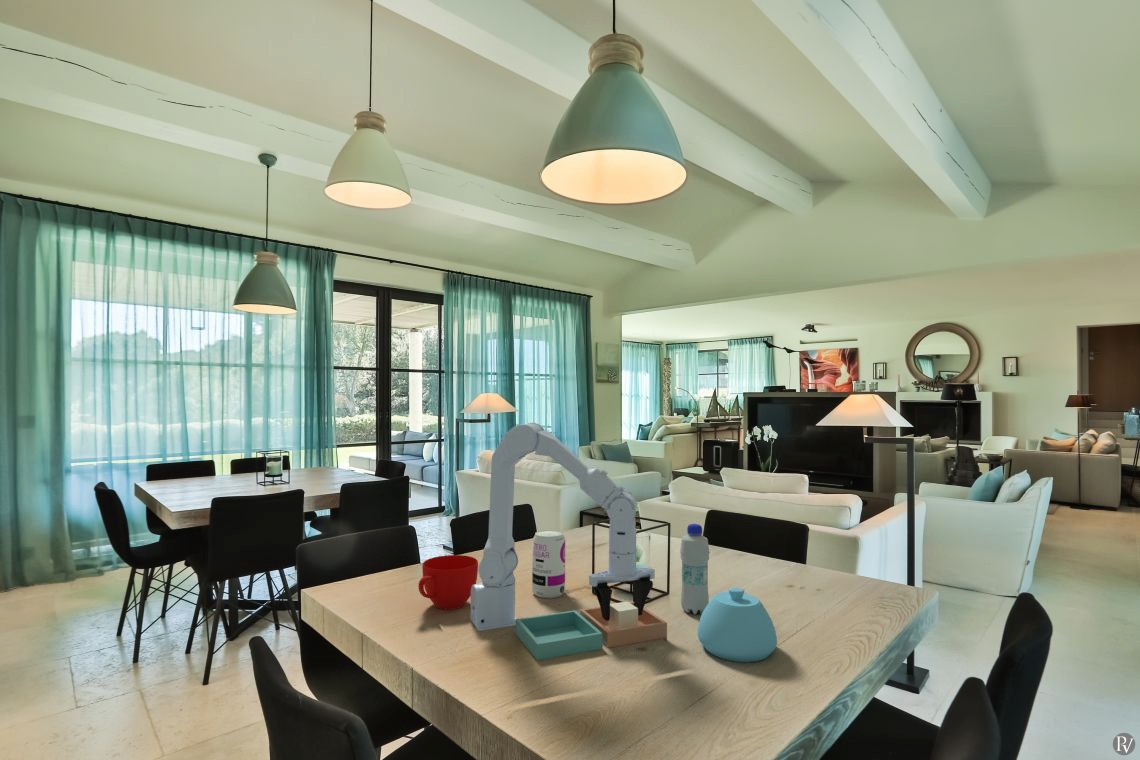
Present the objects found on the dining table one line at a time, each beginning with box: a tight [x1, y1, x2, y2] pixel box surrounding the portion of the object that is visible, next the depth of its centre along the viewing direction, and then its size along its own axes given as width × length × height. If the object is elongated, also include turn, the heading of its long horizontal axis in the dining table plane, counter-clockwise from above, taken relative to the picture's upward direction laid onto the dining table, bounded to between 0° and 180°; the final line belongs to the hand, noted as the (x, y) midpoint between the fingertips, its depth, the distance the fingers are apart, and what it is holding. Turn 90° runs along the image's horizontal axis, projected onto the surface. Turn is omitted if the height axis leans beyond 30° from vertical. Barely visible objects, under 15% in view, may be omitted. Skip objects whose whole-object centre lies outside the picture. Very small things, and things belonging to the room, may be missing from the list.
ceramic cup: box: [418, 554, 479, 610], centre depth 138 cm, size 13×17×10 cm
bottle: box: [679, 523, 710, 615], centre depth 137 cm, size 7×7×20 cm
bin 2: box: [579, 601, 668, 649], centre depth 124 cm, size 13×13×4 cm
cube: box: [609, 601, 638, 630], centre depth 123 cm, size 4×4×5 cm
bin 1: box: [515, 610, 604, 661], centre depth 118 cm, size 13×13×4 cm
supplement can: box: [531, 529, 566, 599], centre depth 148 cm, size 8×8×15 cm
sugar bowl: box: [697, 587, 778, 663], centre depth 117 cm, size 15×15×12 cm
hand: (622, 616), depth 124 cm, fingers open, 7 cm apart
